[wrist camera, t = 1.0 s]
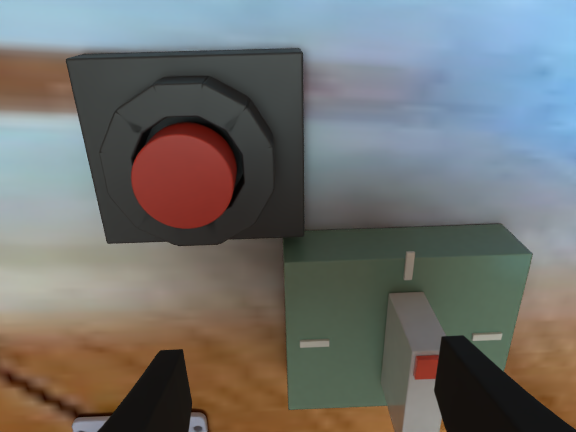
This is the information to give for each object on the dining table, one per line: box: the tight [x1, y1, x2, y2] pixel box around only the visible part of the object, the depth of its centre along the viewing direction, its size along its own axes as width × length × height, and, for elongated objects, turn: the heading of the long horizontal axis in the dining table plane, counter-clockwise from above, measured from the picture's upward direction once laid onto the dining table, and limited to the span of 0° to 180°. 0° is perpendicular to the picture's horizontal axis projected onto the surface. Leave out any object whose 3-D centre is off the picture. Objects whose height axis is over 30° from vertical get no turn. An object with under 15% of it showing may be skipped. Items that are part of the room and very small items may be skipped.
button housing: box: [66, 48, 304, 246], centre depth 19 cm, size 8×9×4 cm
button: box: [131, 122, 237, 229], centre depth 17 cm, size 4×4×2 cm
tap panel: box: [283, 224, 533, 410], centre depth 23 cm, size 10×11×3 cm
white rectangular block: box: [381, 292, 446, 432], centre depth 20 cm, size 6×2×4 cm, turn 1°
